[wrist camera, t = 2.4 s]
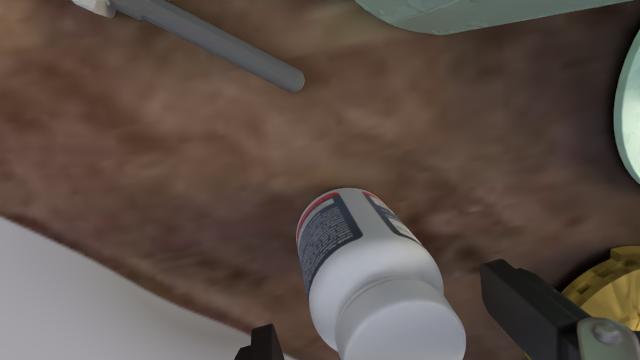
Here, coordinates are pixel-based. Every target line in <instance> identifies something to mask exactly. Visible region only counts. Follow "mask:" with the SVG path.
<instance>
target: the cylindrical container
mask: <svg viewBox="0 0 640 360" xmlns="http://www.w3.org/2000/svg"><path fill="white" fill-rule="evenodd" d="M354 1H355V2H357V3H358V4H359V5H360V6H361V7H362V8H363V9H365V10H366V11H368V12H369V13H371V14H372V15H374V16H375V17H377V18H378V19H380V20H382V21H384V22H387V23H389V24H391V25H393V26H395V27H399V28H402V29H405V30H409V31H413V32H420V33H427V34H436V35H447V34H453V33H458V32H464V31H469V30H475V29H480V28H485V27H491V26H496V25H502V24H507V23H513V22H518V21H523V20H529V19H534V18H540V17H545V16H551V15H556V14H561V13H567V12H572V11H578V10H583V9H589V8H594V7H600V6H605V5H610V4H616V3H621V2H627V1H632V0H354Z"/></svg>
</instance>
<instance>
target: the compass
mask: <svg viewBox="0 0 640 360" xmlns="http://www.w3.org/2000/svg"><path fill="white" fill-rule="evenodd" d="M561 294H563V295H564V296H565V297H567V298H568V299H569V300H571V301H572V302H573V303H575V304H576V305H577V306H579V307H580V308H581V309H583V310H584V311H585V312H587V313H588V314H589V315H591V316H592V317H603V318H608V319H612V320H615V321H617V322H619V323H622V324H623V325H625V326H627V327H628V328H629V329H631V330H632V331H640V246H622V247H617V248H612V249H611V253H610V259H609V260H607V261H605V262H602V263H600V264H598V265H597V266H595V267H593V268H591V269H589V270H588V271H586V272H585V273H584V274H582V275H581V276H579V277H578V278H577V279H575V280H574V281H573V282H572V283H571V284H569V285H568V286H567V287H566V288H565V289H564V290H563V291H562V292H561ZM523 353H524V354H525V355H526V357H527V358H528V359H529V360H531V358H530V357H529V356H528V355H527V354H526V353H525V352H524V351H523Z"/></svg>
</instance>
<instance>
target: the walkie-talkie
mask: <svg viewBox="0 0 640 360" xmlns="http://www.w3.org/2000/svg"><path fill="white" fill-rule="evenodd" d="M72 1H73V2H74V3H75V4H77V5H79V6H81V7H83V8H85V9H87V10H89V11H92V12H94V13H96V14H99V15H103V16H106V17H109V18H113V17H115V14H116V11H117V10H118V11H120V12H122V13H124V14H126V15H128V16H130V17H132V18H135V19H137V20H139V21H144V20H146V21H148V22H150V23H152V24H154V25H156V26H158V27H160V28H162V29H164V30H166V31H168V32H170V33H172V34H174V35H176V36H178V37H180V38H182V39H184V40H186V41H188V42H190V43H192V44H194V45H196V46H198V47H200V48H202V49H204V50H206V51H208V52H210V53H212V54H215V55H217V56H219V57H221V58H223V59H225V60H227V61H229V62H231V63H233V64H235V65H237V66H239V67H241V68H243V69H245V70H247V71H249V72H251V73H253V74H255V75H257V76H259V77H261V78H263V79H265V80H267V81H269V82H271V83H273V84H275V85H277V86H279V87H281V88H283V89H285V90H287V91H289V92H297V91H299V90H301V89H302V88H303V86H304V83H305V78H304V74H303V73H302V72H301V71H300V70H299V69H297V68H295V67H293V66H291V65H289V64H287V63H286V62H284V61H282V60H280V59H278V58H276V57H274V56H272V55H270V54H268V53H266V52H264V51H262V50H260V49H259V48H257V47H255V46H253V45H251V44H249V43H247V42H245V41H243V40H241V39H239V38H237V37H235V36H234V35H232V34H230V33H228V32H226V31H224V30H222V29H220V28H218V27H216V26H214V25H212V24H210V23H208V22H207V21H205V20H203V19H201V18H199V17H197V16H195V15H193V14H191V13H189V12H187V11H185V10H183V9H181V8H180V7H178V6H176V5H174V4H172V3H170V2H168V1H166V0H72Z"/></svg>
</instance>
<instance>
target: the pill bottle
mask: <svg viewBox="0 0 640 360" xmlns="http://www.w3.org/2000/svg"><path fill="white" fill-rule="evenodd" d="M296 242H297V249H298V254H299V258H300V263H301V268H302V274H303V279H304V284H305V289H306V294H307V300H308V304H309V310H310V314H311V317H312V321H313V323H314V326H315V328H316V330H317V332H318V333H319V335H320V336H321V337H322V339H323V340H324V341H325V342H326V343H327V344H328V345H329V346H330V347H332V348H333V349H334V350H336V351H338V353H339V356H340V360H462V359H463V357H464V353H465V349H466V335H465V330H464V327H463V325H462V323H461V321H460V319H459V317H458V316H457V315H456V313H455V312H454V310H453V309H452V307H451V306H450V305H449V303H448V302H447V300H446V298H445V297H444V296H443V294H444V291H443V281H442V277H441V274H440V271H439V268H438V266H437V265H436V263H435V261H434V260H433V258H432V257H431V255H430V254H429V253H428V251H427V250H426V248H425V247H423V245H422V244H421V243H420V242H419V241H418V240H417V239H416V237H415V236H414V235H413V234H412V233H411V232H410V231H409V230H408V228H407V227H406V226H405V225H404V224H403V223H402V222H401V221H400V220H399V219H398V218H397V216H396V215H395V214H394V213H393V212H392V211H391V210H390V209H389V208H388V207H387V206H386V204H385V203H383V202H382V201H381V200H380V199H379V198H378V197H377V196H375V195H374V194H372V193H370V192H368V191H365V190H362V189H357V188H340V189H335V190H332V191H329V192H326V193H324V194H322V195H321V196H319V197H318V198H316V199H315V200H314V201H312V202H311V203H310V204H309V205H308V207H307V208H306V209H305V211H304V212H303V214H302V216H301V218H300V220H299V223H298V227H297V232H296Z"/></svg>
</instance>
